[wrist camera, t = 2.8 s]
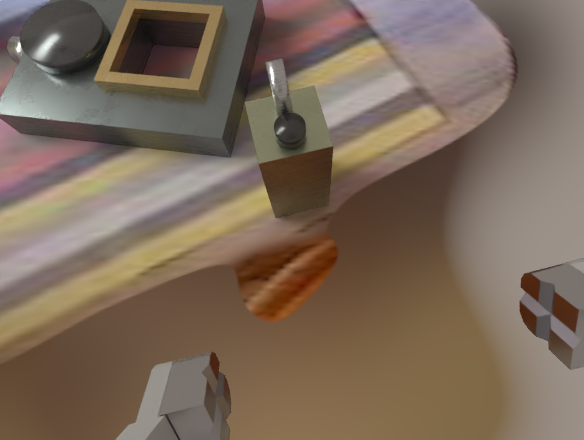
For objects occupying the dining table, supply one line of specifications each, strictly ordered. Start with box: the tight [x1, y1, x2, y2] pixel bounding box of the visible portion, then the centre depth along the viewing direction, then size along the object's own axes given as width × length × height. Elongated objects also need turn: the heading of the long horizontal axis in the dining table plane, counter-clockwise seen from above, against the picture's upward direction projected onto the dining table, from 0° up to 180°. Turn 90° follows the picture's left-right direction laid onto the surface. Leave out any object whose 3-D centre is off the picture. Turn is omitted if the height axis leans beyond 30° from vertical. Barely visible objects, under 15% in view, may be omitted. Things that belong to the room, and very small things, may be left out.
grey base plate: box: [0, 0, 265, 157], centre depth 33 cm, size 22×16×4 cm
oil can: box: [245, 58, 333, 218], centre depth 25 cm, size 4×5×12 cm
